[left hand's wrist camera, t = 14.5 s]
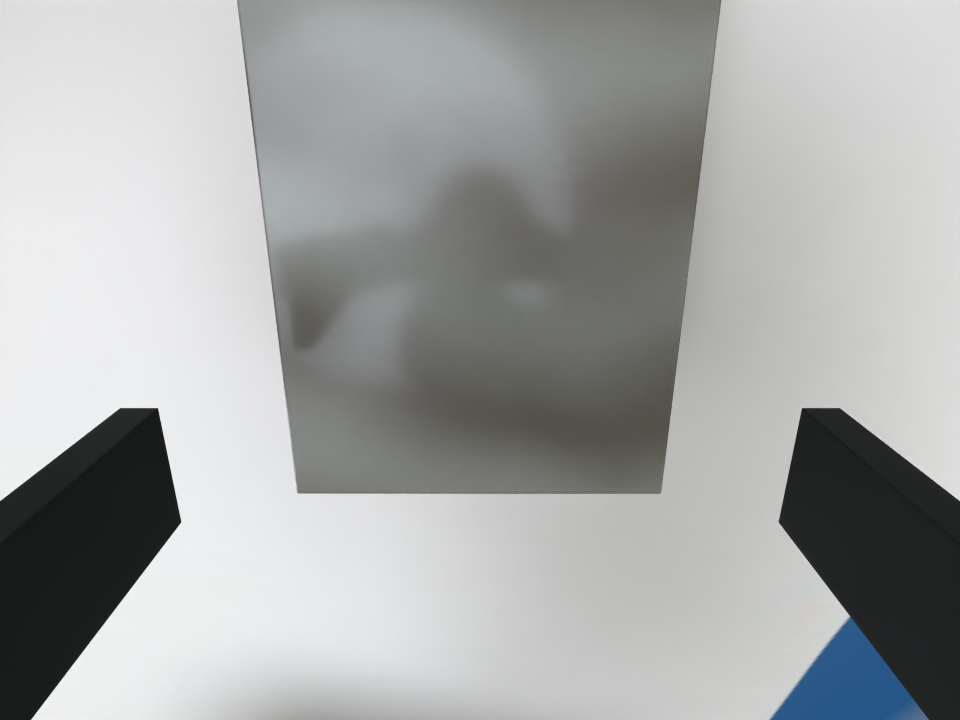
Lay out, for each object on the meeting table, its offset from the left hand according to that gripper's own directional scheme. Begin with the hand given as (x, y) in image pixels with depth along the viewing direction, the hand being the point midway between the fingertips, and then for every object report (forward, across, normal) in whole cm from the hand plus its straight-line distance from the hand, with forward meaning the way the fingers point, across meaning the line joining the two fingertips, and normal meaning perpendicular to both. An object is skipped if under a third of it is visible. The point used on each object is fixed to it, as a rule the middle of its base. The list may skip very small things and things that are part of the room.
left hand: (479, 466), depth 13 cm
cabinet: (+17, 0, -6) cm, 18 cm away
